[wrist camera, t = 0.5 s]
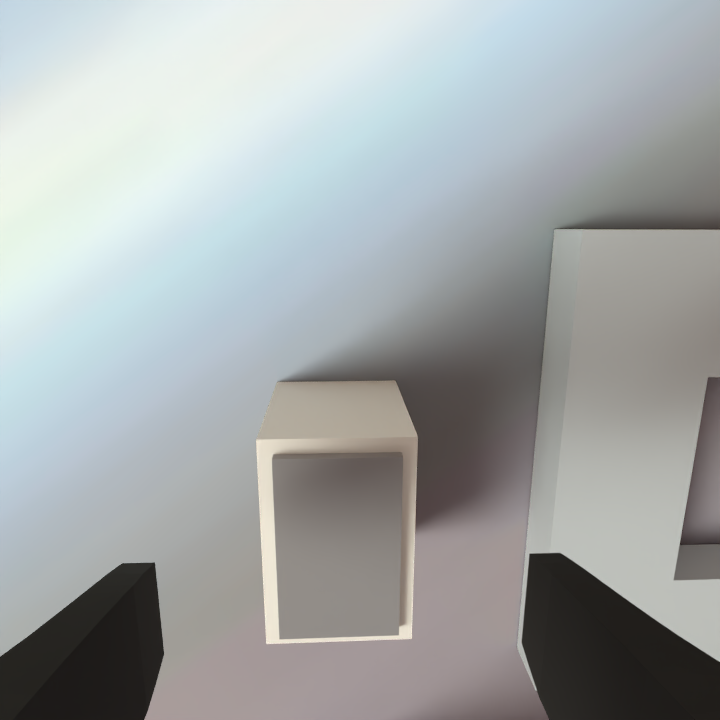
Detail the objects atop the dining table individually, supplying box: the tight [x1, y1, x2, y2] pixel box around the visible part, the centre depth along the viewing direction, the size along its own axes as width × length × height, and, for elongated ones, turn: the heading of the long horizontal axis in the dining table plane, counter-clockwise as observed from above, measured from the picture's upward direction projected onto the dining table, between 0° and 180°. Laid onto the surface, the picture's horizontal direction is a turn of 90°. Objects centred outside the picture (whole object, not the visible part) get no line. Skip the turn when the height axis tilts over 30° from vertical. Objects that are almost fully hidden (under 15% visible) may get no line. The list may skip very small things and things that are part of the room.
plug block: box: [256, 381, 418, 644], centre depth 16 cm, size 6×4×5 cm, turn 0°
